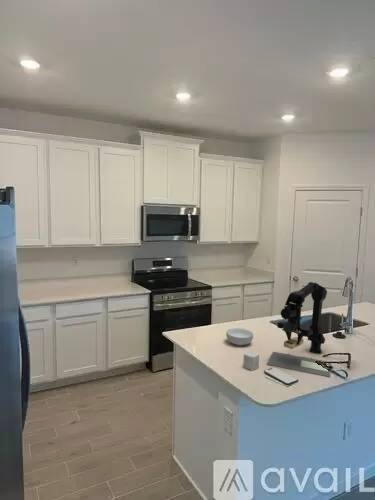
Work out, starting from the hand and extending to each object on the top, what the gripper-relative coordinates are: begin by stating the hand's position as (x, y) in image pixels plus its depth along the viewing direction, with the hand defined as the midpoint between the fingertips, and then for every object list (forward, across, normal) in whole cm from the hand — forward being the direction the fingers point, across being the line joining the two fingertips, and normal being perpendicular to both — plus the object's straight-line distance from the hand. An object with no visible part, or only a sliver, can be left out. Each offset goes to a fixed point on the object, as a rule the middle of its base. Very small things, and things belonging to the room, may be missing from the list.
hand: (293, 343), depth 189 cm
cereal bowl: (+11, -37, 0) cm, 39 cm away
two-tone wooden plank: (+1, 0, 0) cm, 1 cm away
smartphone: (+12, +5, -20) cm, 24 cm away
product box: (+11, -11, -23) cm, 28 cm away
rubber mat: (+11, +3, +1) cm, 12 cm away
